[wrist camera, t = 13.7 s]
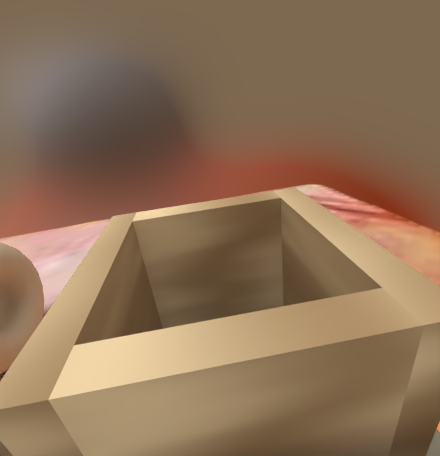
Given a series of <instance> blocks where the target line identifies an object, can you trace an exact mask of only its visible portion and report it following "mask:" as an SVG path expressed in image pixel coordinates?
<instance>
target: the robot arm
mask: <svg viewBox="0 0 440 456" xmlns="http://www.w3.org/2000/svg"><path fill="white" fill-rule="evenodd" d="M0 456H13V455H12V454H11V453H10V451H9V450H8V449H7V448H6V447H5V445H4V444H3V443H2V442H1V441H0Z"/></svg>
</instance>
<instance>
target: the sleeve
mask: <svg viewBox="0 0 440 456" xmlns="http://www.w3.org/2000/svg"><path fill="white" fill-rule="evenodd" d="M439 421H440V286H439V285H438V284H436V283H435V282H433V281H432V280H430V279H429V278H427V277H426V276H424V275H423V274H421V273H420V272H418V271H417V270H416V269H414V268H413V267H411V266H410V265H408V264H407V263H405V262H404V261H402V260H401V259H399V258H398V257H396V256H395V255H393V254H392V253H390V252H389V251H388V250H386V249H385V248H383V247H382V246H380V245H379V244H377V243H376V242H374V241H373V240H371V239H370V238H368V237H367V236H365V235H364V234H363V233H361V232H360V231H358V230H357V229H355V228H354V227H352V226H351V225H349V224H348V223H346V222H345V221H343V220H342V219H340V218H339V217H338V216H336V215H335V214H333V213H332V212H330V211H329V210H327V209H326V208H324V207H323V206H321V205H320V204H318V203H317V202H315V201H314V200H312V199H311V198H310V197H308V196H307V195H305V194H304V193H302V192H301V191H299V190H298V189H296V188H290V189H283V190H277V191H270V192H264V193H258V194H251V195H245V196H239V197H232V198H226V199H219V200H213V201H207V202H200V203H194V204H188V205H181V206H175V207H169V208H163V209H156V210H149V211H144V212H137V213H130V214H124V215H118V216H113V217H112V218H111V220H110V221H109V222H108V224H107V225H106V227H105V228H104V230H103V231H102V233H101V234H100V236H99V237H98V239H97V240H96V242H95V243H94V244H93V246H92V247H91V249H90V250H89V252H88V253H87V255H86V256H85V258H84V259H83V261H82V262H81V264H80V265H79V266H78V268H77V269H76V271H75V272H74V274H73V275H72V277H71V278H70V280H69V281H68V283H67V284H66V286H65V287H64V288H63V290H62V291H61V293H60V294H59V296H58V297H57V299H56V300H55V302H54V303H53V305H52V306H51V308H50V309H49V311H48V312H47V313H46V315H45V316H44V318H43V319H42V321H41V322H40V324H39V325H38V327H37V328H36V330H35V331H34V333H33V334H32V335H31V337H30V338H29V340H28V341H27V343H26V344H25V346H24V347H23V349H22V350H21V352H20V353H19V355H18V356H17V357H16V359H15V360H14V362H13V363H12V365H11V366H10V368H9V369H8V371H7V372H6V374H5V375H4V377H3V378H2V379H1V381H0V441H1V442H2V443H3V444H4V445H5V447H6V448H7V449H8V450H9V451H10V453H11V454H12V455H13V456H426V455H427V452H428V449H429V447H430V444H431V442H432V439H433V436H434V434H435V431H436V429H437V426H438V423H439Z"/></svg>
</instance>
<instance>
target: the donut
mask: <svg viewBox="0 0 440 456" xmlns="http://www.w3.org/2000/svg"><path fill="white" fill-rule="evenodd" d="M43 311H44V294H43V286H42V283H41V280H40V277H39V274H38V272H37V270H36V268H35V267H34V265H33V264H32V262H31V261H30V260H29V259H28V258H27V257H26V256H25V255H23V254H22V253H21V252H20V251H19V250H18V249H16V248H13V247H10V246H8V245H5V244H3V243H0V374H2V373H3V372H5V371H6V370H8V369H9V368H10V366H11V365H12V363H13V362H14V360H15V359H16V357H17V356H18V355H19V353H20V352H21V350H22V349H23V347H24V346H25V344H26V343H27V341H28V340H29V338H30V337H31V335H32V334H33V333H34V331H35V330H36V328H37V327H38V325H39V324H40V322H41V321H42V318H43Z"/></svg>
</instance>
